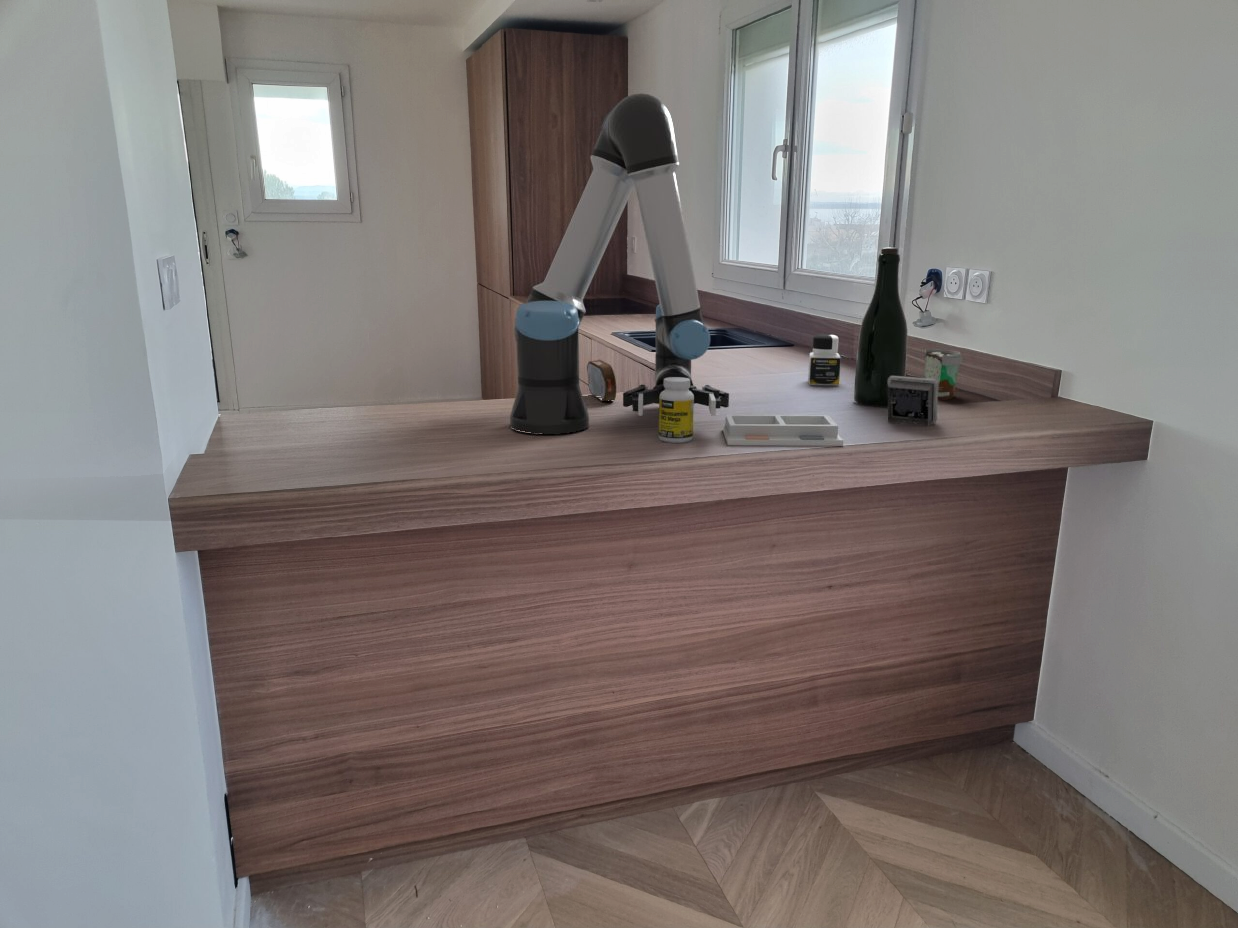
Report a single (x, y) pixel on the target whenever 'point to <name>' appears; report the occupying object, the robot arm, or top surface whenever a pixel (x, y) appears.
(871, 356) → the dark green wine bottle
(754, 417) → the socket board
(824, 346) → the medicine bottle
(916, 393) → the electrical switch
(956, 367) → the food container
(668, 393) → the pill bottle
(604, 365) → the tin
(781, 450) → the top surface
